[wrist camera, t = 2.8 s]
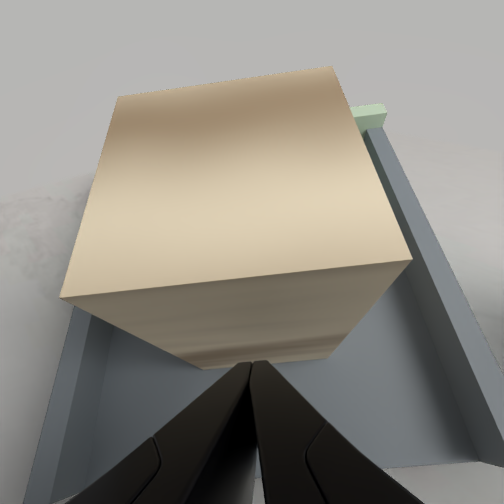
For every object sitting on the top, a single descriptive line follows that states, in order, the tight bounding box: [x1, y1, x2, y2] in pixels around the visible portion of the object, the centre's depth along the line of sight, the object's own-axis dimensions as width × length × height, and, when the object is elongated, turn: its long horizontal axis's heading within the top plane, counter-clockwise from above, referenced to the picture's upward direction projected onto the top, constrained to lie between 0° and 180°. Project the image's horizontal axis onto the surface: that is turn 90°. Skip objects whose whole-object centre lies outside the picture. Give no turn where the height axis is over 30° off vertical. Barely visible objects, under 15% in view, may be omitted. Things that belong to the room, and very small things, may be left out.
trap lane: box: [23, 103, 504, 504], centre depth 15 cm, size 18×18×5 cm
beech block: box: [59, 66, 413, 370], centre depth 10 cm, size 6×6×10 cm
